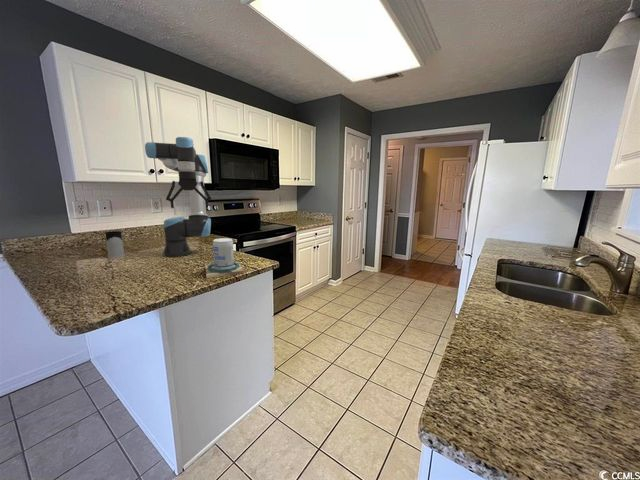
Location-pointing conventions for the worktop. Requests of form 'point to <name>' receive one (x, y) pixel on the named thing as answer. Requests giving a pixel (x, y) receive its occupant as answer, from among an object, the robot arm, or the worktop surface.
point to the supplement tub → (223, 253)
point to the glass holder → (114, 244)
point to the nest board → (223, 270)
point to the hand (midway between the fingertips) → (190, 214)
